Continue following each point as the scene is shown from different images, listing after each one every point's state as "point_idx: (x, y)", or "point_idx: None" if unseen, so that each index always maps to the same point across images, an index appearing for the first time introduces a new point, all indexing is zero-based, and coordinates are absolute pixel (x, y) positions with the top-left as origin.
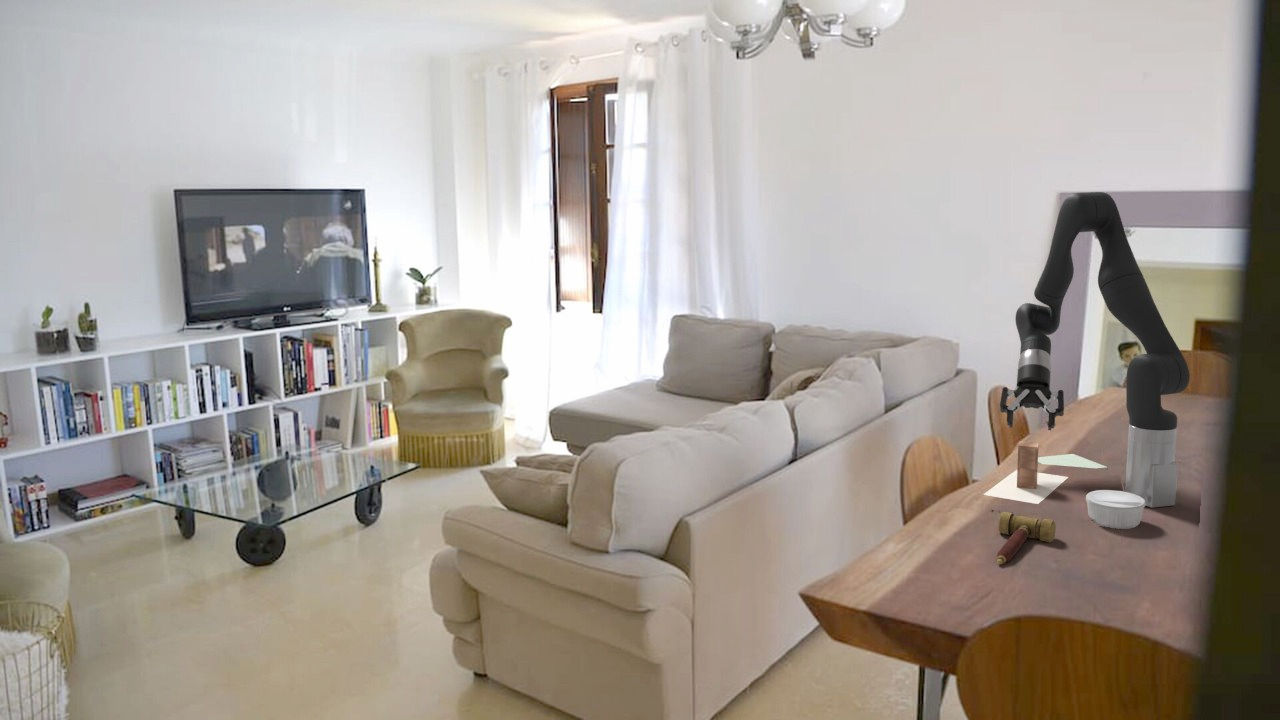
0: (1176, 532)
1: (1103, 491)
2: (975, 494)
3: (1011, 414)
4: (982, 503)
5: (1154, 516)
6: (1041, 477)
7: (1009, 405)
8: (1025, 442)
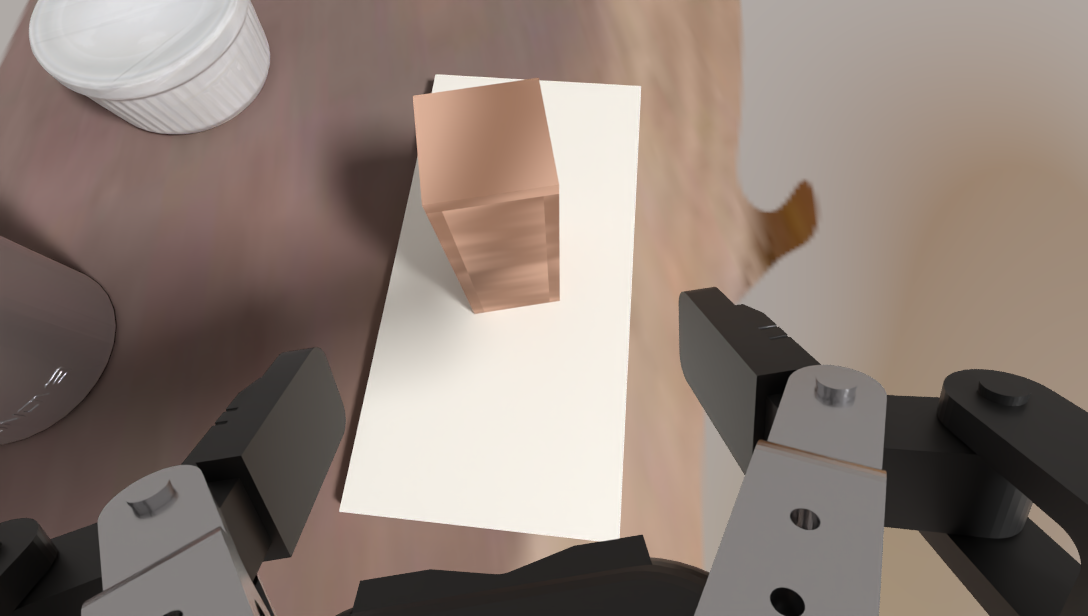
0: (26, 66)
1: (166, 53)
2: (681, 135)
3: (749, 340)
4: (624, 58)
5: (54, 177)
6: (469, 435)
7: (883, 415)
8: (510, 170)
